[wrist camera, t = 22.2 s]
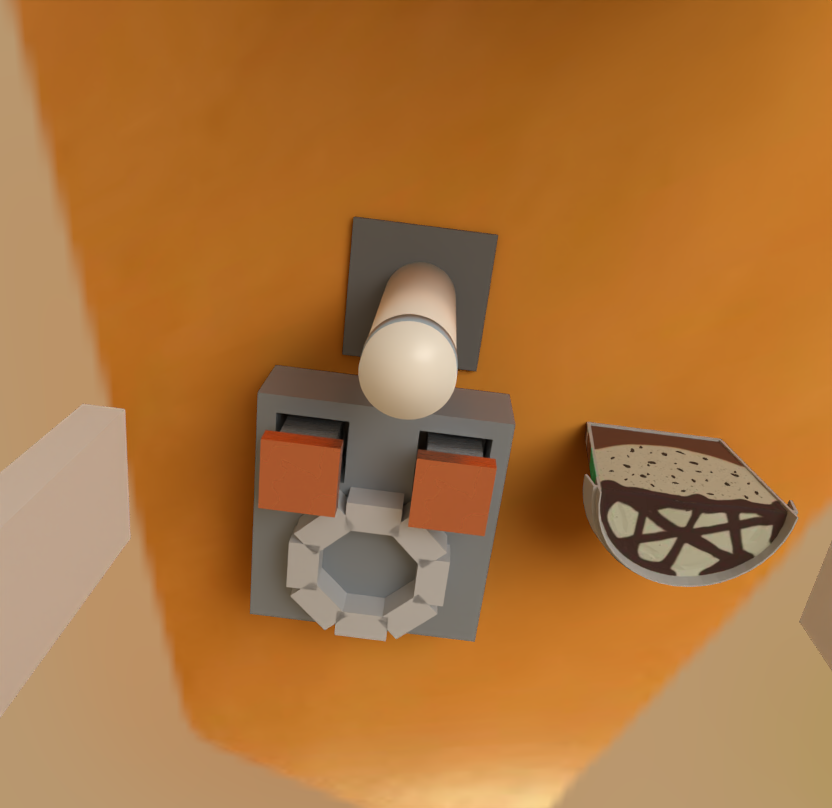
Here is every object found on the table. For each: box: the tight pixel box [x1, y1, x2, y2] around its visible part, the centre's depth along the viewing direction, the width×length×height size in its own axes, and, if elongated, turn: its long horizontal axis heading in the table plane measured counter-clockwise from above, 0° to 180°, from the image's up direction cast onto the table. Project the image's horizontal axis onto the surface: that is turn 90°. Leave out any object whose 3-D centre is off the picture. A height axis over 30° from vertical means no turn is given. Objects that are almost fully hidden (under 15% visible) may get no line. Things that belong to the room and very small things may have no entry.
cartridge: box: [358, 262, 458, 420], centre depth 41 cm, size 5×5×14 cm
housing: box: [250, 365, 515, 642], centre depth 50 cm, size 17×16×7 cm
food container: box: [583, 422, 798, 587], centre depth 47 cm, size 12×6×10 cm, turn 83°
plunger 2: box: [408, 432, 497, 536], centre depth 46 cm, size 5×5×7 cm
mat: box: [342, 217, 498, 371], centre depth 47 cm, size 9×9×1 cm
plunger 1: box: [258, 414, 344, 518], centre depth 46 cm, size 5×5×7 cm
